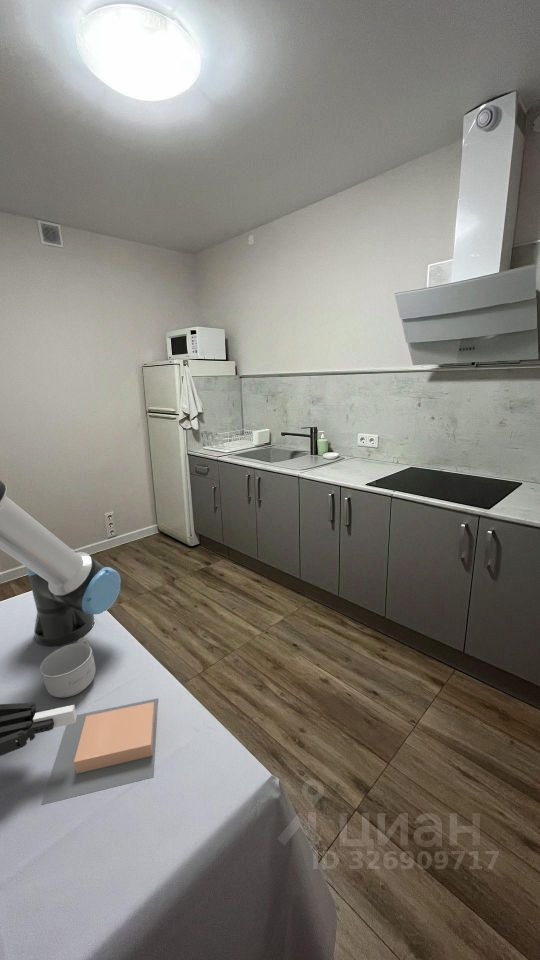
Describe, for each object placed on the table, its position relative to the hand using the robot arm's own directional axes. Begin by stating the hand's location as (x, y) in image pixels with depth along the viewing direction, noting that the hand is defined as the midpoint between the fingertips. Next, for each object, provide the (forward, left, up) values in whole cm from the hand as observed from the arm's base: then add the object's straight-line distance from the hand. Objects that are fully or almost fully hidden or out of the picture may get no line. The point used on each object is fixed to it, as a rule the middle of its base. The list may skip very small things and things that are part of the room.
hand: (74, 713), depth 73 cm
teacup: (-20, -6, -9) cm, 23 cm away
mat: (0, +4, -9) cm, 10 cm away
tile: (0, 0, -7) cm, 7 cm away
